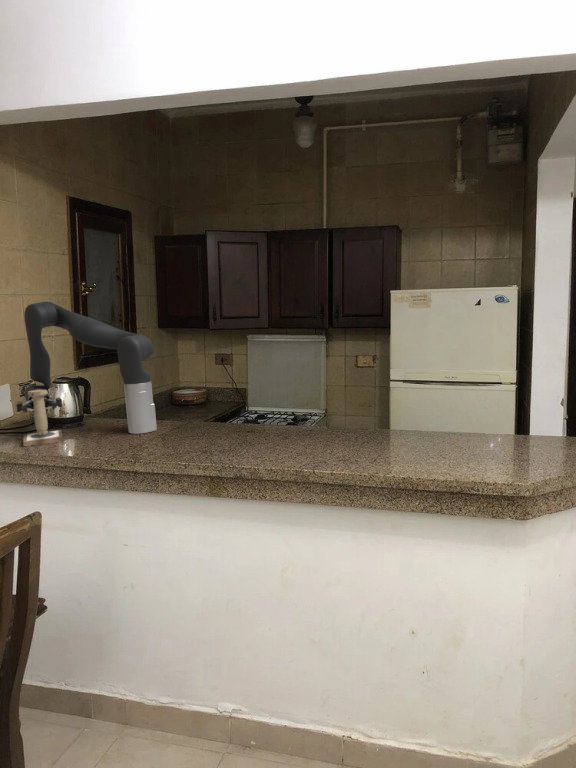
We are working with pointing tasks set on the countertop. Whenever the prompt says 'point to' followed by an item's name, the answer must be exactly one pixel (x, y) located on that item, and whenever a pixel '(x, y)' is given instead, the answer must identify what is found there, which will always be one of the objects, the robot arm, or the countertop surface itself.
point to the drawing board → (42, 438)
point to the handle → (39, 411)
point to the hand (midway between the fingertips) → (39, 407)
